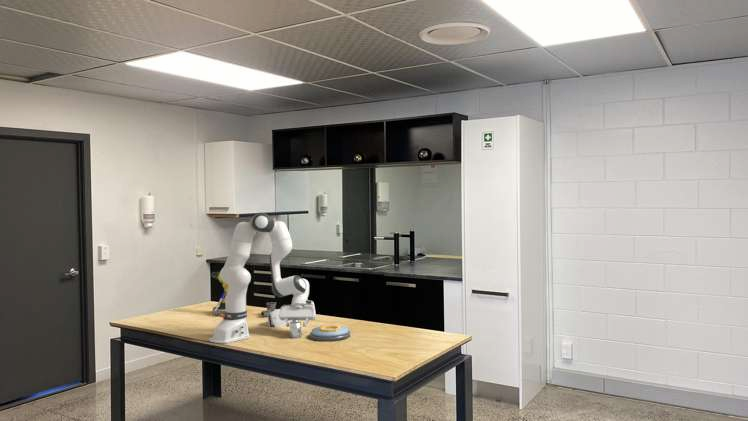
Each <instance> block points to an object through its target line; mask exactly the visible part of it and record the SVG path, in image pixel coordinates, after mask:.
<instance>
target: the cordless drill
mask: <svg viewBox="0 0 748 421" xmlns="http://www.w3.org/2000/svg"><path fill="white" fill-rule="evenodd" d="M210 277H211V278H213V279H214V280H217V281H219V282H220V283H221V288H223V293H222V295H221V297H220V298H219V301H218V303H217V305H216V306H213V308H212V316H214V317H220V316H219V315H220V314H221V313H222V314H224V313H225V311H226V307H225V297H226V295H227V292H228V284H225V283H224V282H223V281H222V280H221V278H220V271H212V272H211V273H210Z"/></svg>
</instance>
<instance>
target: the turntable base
mask: <svg viewBox="0 0 748 421" xmlns="http://www.w3.org/2000/svg"><path fill="white" fill-rule="evenodd" d="M350 337H351V331H350V330H349V329H348V333H347V334H346V335H343V336H338V337H318V336H314V335H312V331H310V333H309V339H310V340H312V341H315V342H322V343H323V342H324V343H326V342H327V343H329V342H330V343H331V342H340V341H344V340H347V339H349V338H350Z"/></svg>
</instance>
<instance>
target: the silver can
mask: <svg viewBox="0 0 748 421" xmlns="http://www.w3.org/2000/svg"><path fill="white" fill-rule="evenodd" d="M289 337H290V339H300V338H302V322H301V321H300V320H292V322H290V323H289Z"/></svg>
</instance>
